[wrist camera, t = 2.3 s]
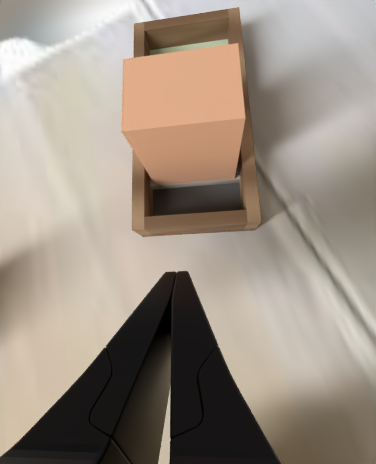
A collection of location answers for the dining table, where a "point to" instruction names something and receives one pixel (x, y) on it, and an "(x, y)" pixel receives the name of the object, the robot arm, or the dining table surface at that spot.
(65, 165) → the dining table surface
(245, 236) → the dining table surface
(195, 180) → the block
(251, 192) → the box
